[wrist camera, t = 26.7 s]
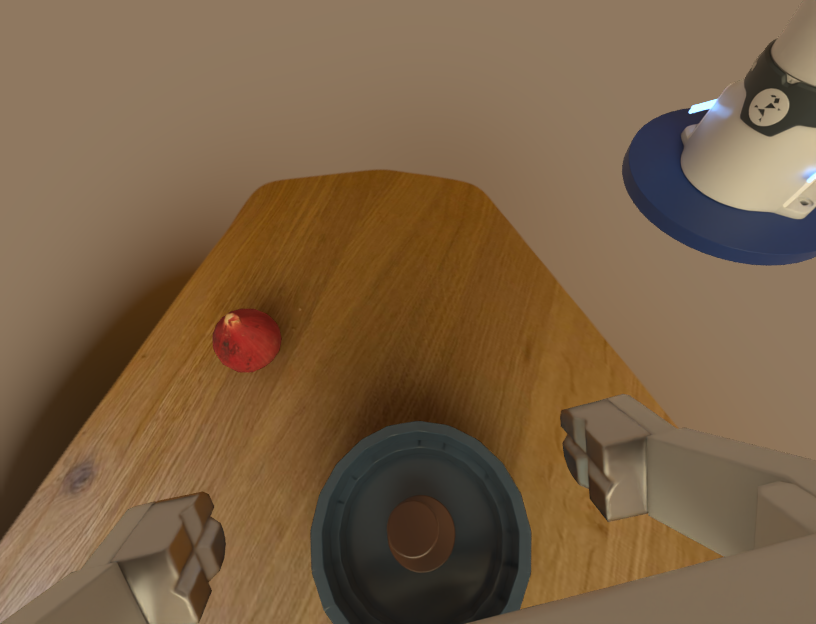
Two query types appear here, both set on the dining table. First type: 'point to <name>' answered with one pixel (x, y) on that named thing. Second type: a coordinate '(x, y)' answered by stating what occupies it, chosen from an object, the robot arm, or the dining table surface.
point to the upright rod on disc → (421, 533)
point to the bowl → (368, 544)
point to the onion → (246, 340)
